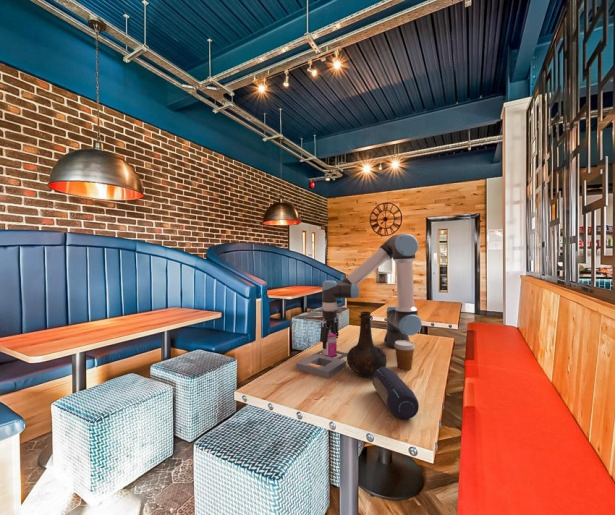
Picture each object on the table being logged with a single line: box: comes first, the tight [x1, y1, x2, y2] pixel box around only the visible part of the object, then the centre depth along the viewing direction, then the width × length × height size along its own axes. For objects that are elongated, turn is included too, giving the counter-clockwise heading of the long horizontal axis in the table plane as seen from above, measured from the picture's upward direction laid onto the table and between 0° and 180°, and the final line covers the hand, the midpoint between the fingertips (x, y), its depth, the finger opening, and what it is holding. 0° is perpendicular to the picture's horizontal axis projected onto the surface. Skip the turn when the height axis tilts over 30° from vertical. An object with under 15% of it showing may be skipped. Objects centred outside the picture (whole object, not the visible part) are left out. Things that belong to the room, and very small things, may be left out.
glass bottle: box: [346, 311, 387, 378], centre depth 136 cm, size 18×18×28 cm
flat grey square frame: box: [315, 349, 348, 360], centre depth 159 cm, size 15×15×1 cm
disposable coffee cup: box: [394, 340, 416, 372], centre depth 142 cm, size 10×10×12 cm
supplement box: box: [322, 332, 338, 358], centre depth 159 cm, size 6×6×12 cm
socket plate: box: [295, 352, 347, 379], centre depth 142 cm, size 18×16×3 cm
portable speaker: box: [371, 366, 420, 420], centre depth 108 cm, size 25×10×10 cm, turn 5°
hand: (329, 352), depth 159 cm, fingers closed on supplement box, 8 cm apart
